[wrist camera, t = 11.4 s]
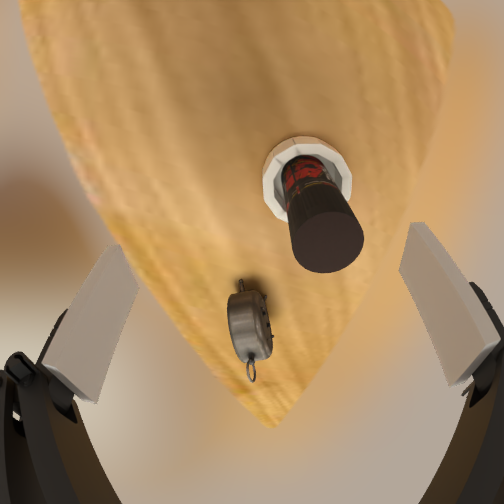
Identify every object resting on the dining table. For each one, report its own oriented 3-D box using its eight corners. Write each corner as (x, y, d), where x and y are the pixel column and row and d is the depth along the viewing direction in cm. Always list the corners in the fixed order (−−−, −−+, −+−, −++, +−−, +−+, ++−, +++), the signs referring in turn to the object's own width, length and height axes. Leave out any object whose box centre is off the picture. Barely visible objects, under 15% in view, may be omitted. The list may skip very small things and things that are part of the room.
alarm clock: (228, 275, 45) (217, 362, 32) (261, 269, 44) (261, 358, 31) (247, 319, 51) (243, 398, 38) (276, 314, 50) (278, 395, 37)
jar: (259, 137, 32) (259, 145, 28) (343, 136, 31) (353, 144, 28) (265, 212, 38) (265, 228, 34) (340, 209, 37) (347, 224, 34)
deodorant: (334, 164, 33) (376, 226, 21) (315, 204, 36) (342, 280, 24) (291, 147, 32) (311, 200, 20) (273, 189, 35) (280, 262, 23)
